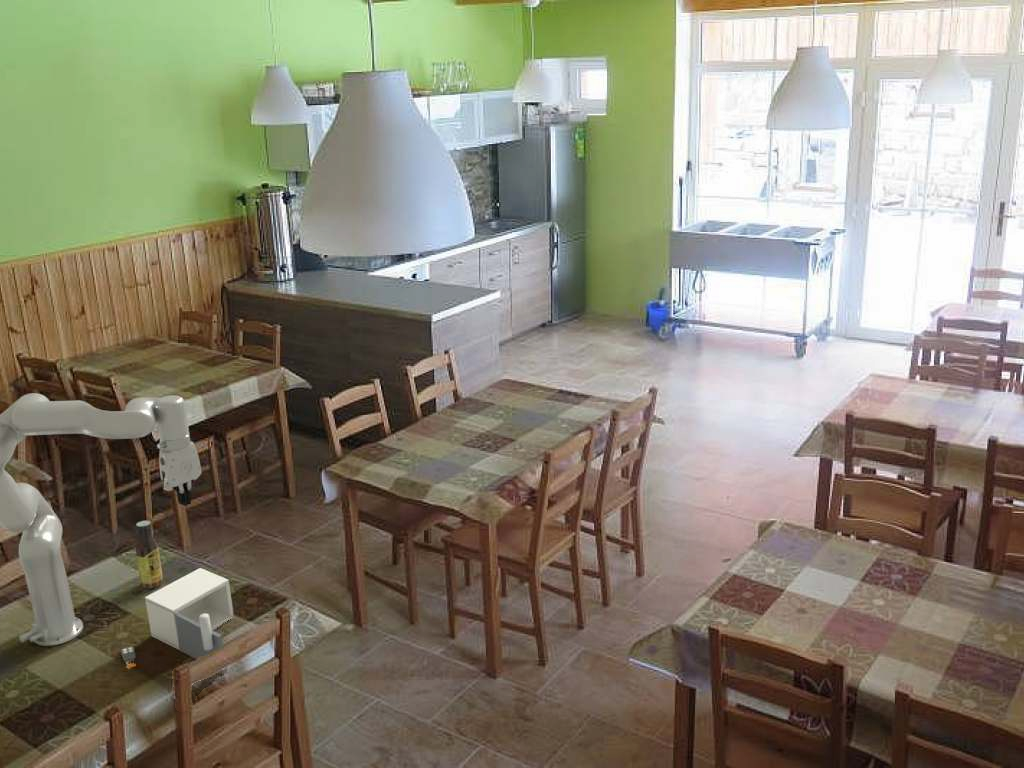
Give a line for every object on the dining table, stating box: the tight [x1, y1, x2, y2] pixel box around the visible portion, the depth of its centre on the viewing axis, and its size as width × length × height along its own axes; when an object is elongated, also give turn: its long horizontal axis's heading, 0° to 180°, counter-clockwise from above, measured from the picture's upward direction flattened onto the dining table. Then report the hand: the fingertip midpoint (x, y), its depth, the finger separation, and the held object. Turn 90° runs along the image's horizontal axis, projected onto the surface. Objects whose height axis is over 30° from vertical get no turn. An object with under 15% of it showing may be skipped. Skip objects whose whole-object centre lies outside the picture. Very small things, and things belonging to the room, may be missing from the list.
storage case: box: [144, 567, 235, 651], centre depth 261 cm, size 18×12×12 cm, turn 145°
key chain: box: [120, 646, 137, 669], centre depth 248 cm, size 13×4×2 cm, turn 28°
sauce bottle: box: [135, 520, 164, 590], centre depth 282 cm, size 7×6×20 cm
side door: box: [174, 612, 228, 675], centre depth 244 cm, size 19×4×16 cm, turn 54°
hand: (185, 503), depth 262 cm, fingers closed
